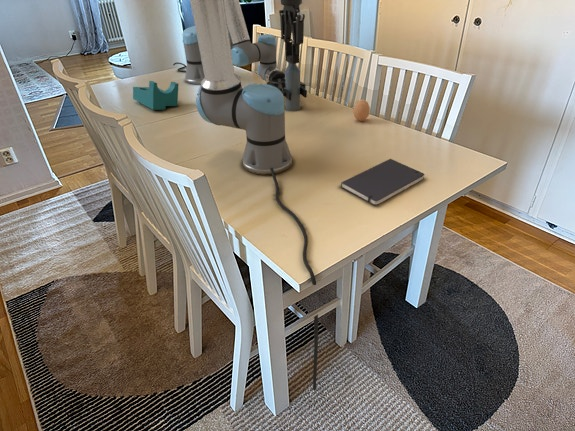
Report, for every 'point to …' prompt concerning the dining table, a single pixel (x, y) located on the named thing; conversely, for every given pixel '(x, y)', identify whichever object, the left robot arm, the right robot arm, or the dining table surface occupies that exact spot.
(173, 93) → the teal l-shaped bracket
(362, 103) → the egg
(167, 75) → the dining table surface
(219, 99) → the right robot arm
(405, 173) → the notebook
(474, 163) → the dining table surface
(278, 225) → the dining table surface
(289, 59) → the cap
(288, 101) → the bottle
